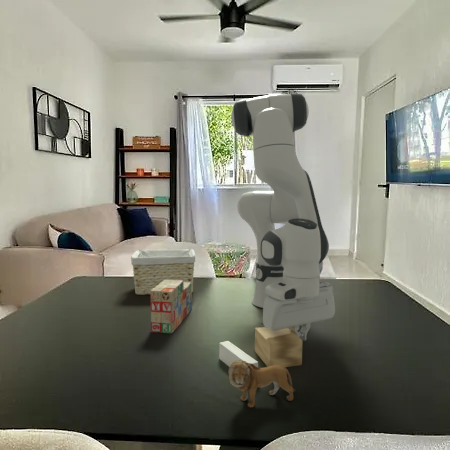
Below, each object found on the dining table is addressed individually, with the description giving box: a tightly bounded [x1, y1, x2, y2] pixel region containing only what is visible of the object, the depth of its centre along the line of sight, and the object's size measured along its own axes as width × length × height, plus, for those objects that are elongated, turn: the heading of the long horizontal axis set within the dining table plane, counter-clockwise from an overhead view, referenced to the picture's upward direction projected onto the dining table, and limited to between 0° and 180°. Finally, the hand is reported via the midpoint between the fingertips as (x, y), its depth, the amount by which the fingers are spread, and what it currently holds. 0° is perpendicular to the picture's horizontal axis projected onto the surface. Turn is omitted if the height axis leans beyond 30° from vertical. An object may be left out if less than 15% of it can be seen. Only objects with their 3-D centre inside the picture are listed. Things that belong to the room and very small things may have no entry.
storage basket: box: [130, 248, 196, 296], centre depth 156 cm, size 24×16×15 cm
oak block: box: [254, 326, 303, 368], centre depth 97 cm, size 8×10×6 cm
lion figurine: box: [228, 360, 297, 408], centre depth 78 cm, size 15×5×9 cm, turn 114°
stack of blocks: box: [150, 280, 193, 334], centre depth 122 cm, size 21×6×12 cm, turn 170°
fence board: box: [218, 340, 259, 368], centre depth 91 cm, size 2×13×4 cm, turn 29°
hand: (299, 340), depth 99 cm, fingers closed
